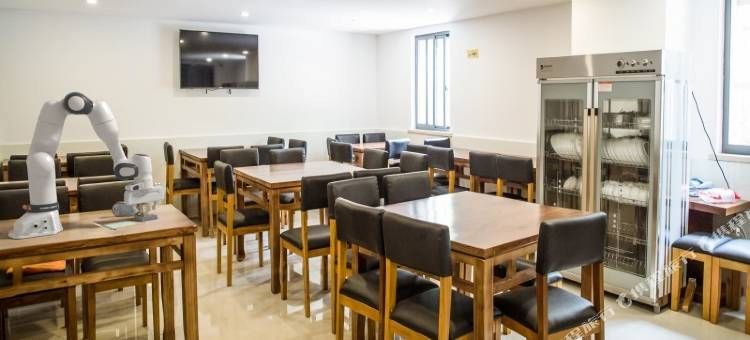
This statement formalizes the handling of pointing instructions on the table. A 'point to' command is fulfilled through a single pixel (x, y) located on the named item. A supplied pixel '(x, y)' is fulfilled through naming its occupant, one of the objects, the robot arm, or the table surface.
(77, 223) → the table surface
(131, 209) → the tin
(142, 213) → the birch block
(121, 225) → the green board
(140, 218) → the pocket holder
